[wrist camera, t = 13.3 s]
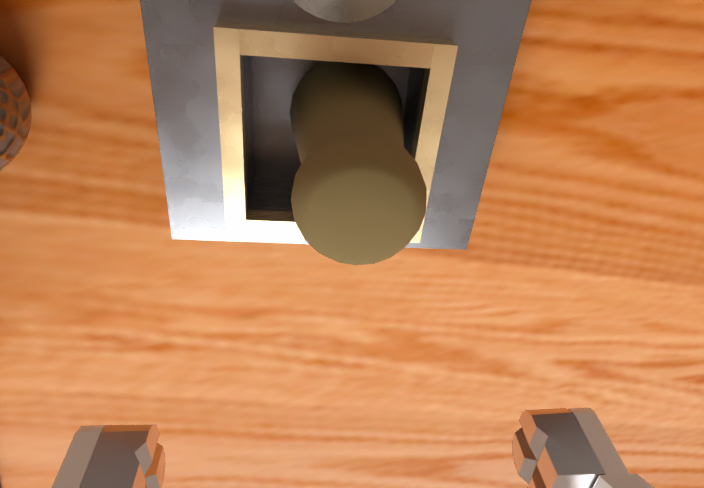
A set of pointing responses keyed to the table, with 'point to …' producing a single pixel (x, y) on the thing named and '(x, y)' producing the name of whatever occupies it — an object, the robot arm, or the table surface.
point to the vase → (12, 113)
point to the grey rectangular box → (281, 82)
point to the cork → (354, 165)
